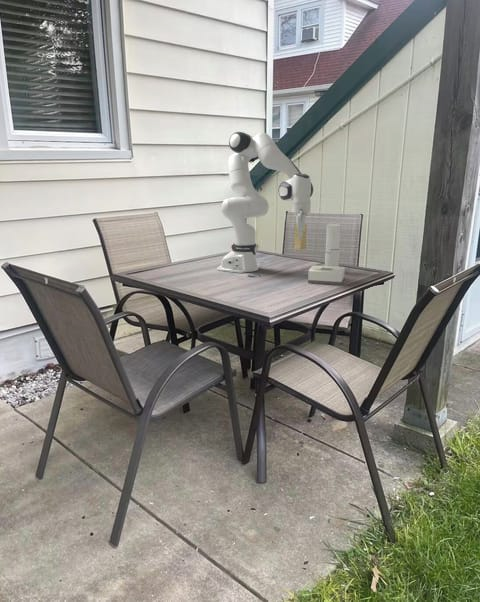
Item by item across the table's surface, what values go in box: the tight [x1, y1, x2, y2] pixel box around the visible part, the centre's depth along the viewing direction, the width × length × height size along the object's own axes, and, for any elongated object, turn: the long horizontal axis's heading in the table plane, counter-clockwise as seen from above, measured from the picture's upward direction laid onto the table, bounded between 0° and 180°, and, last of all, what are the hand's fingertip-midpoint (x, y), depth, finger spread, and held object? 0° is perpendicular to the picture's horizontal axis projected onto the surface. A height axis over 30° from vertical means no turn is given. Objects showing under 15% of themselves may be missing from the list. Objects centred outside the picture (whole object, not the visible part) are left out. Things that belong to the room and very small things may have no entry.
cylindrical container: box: [324, 223, 342, 267], centre depth 251 cm, size 7×7×25 cm
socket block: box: [307, 264, 346, 286], centre depth 235 cm, size 16×13×6 cm
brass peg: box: [293, 223, 307, 250], centre depth 234 cm, size 4×4×12 cm
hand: (300, 237), depth 234 cm, fingers closed on brass peg, 6 cm apart
